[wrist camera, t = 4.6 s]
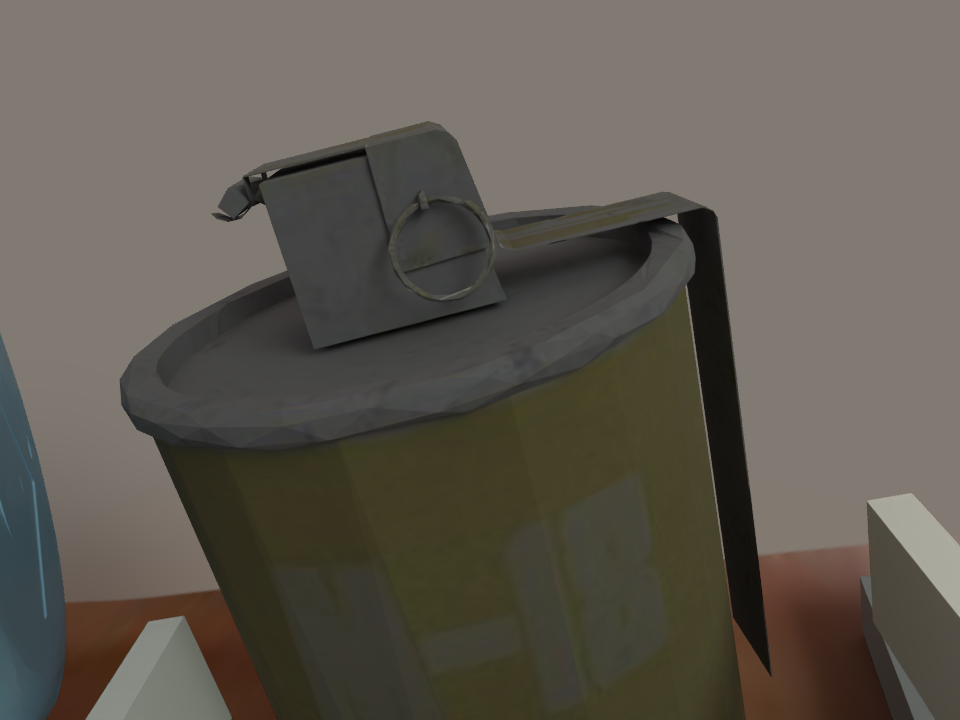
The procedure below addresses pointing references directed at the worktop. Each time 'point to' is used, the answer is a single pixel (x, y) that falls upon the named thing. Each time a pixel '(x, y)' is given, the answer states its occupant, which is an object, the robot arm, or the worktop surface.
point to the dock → (890, 667)
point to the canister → (466, 449)
